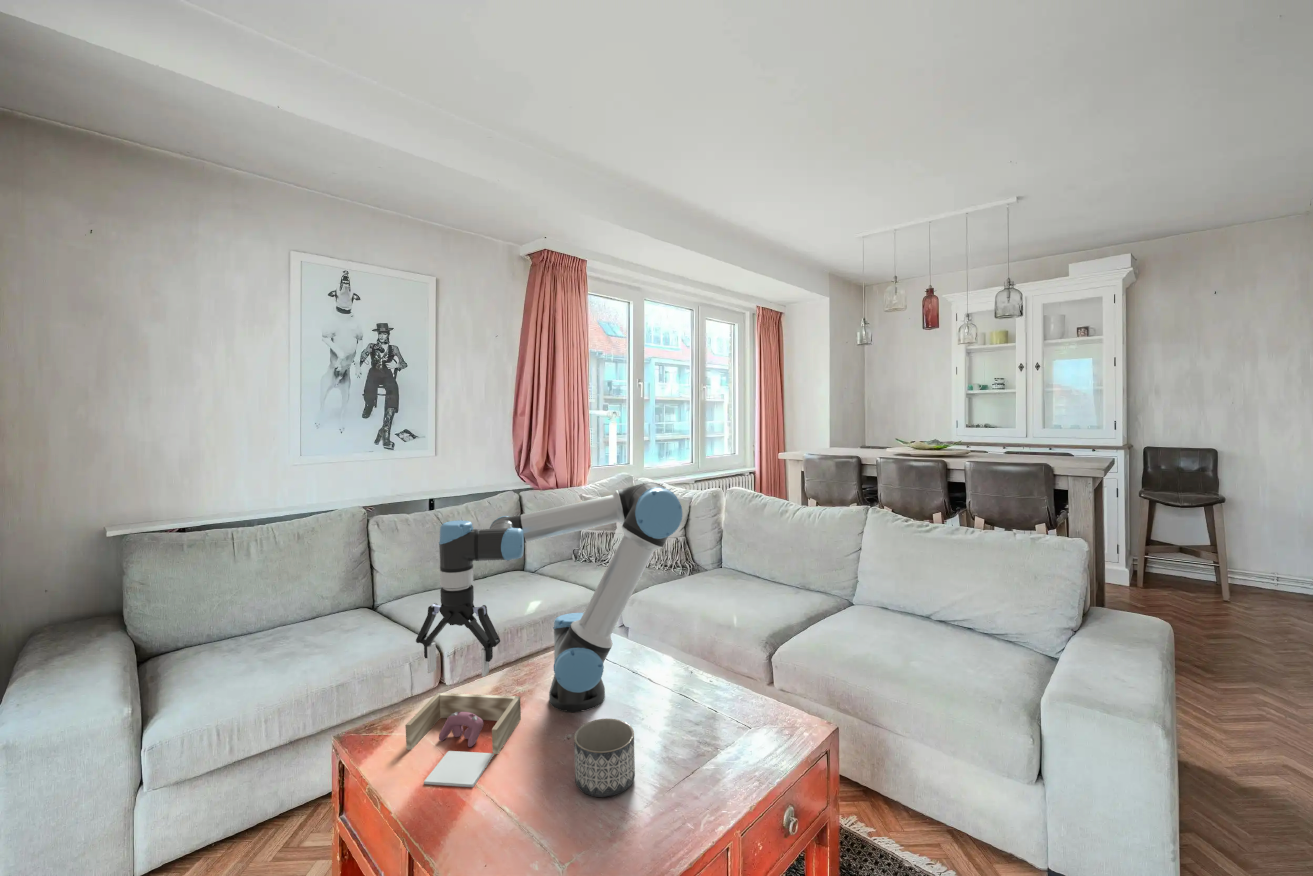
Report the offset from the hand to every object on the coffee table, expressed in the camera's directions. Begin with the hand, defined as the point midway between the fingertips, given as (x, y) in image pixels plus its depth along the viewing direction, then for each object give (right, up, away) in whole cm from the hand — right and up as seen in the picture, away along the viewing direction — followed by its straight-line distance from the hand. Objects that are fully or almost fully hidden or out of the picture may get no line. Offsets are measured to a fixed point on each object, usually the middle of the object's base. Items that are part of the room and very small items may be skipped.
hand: (458, 672), depth 140 cm
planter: (+37, -17, -16) cm, 44 cm away
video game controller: (+1, -17, +1) cm, 17 cm away
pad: (+4, -17, -11) cm, 21 cm away
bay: (+1, -16, +3) cm, 16 cm away
